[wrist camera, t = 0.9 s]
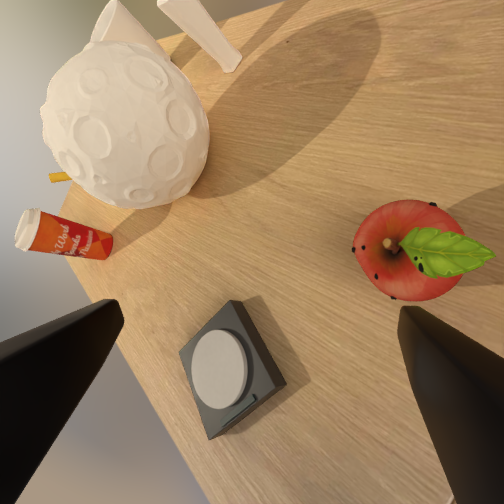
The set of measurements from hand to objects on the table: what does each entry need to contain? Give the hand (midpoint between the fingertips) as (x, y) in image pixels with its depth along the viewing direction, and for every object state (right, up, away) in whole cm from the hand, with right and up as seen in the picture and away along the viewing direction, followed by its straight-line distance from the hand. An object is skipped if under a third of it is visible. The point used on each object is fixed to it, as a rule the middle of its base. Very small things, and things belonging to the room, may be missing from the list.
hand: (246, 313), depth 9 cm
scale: (-2, -11, +22) cm, 24 cm away
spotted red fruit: (+14, +1, +13) cm, 19 cm away
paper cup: (-30, +3, +48) cm, 57 cm away
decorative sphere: (-9, +15, +35) cm, 40 cm away
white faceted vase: (-3, +32, +35) cm, 47 cm away
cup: (-19, +40, +50) cm, 66 cm away
